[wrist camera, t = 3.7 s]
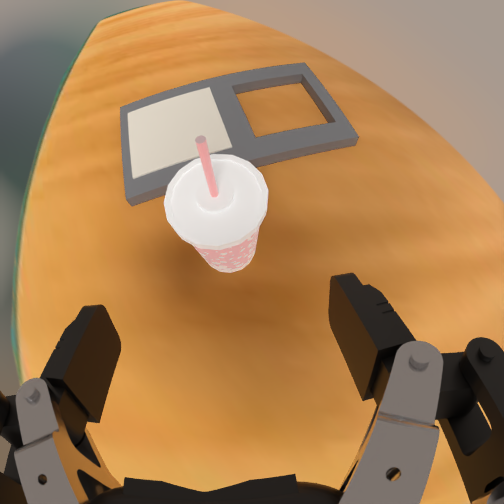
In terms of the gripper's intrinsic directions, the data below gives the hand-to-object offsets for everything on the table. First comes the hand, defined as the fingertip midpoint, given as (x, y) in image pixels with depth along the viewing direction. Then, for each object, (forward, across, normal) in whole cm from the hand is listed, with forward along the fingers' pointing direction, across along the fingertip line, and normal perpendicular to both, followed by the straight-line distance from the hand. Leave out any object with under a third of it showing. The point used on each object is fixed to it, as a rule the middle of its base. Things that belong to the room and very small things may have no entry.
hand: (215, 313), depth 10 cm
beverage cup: (+15, 0, +5) cm, 16 cm away
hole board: (+25, -2, -6) cm, 26 cm away
